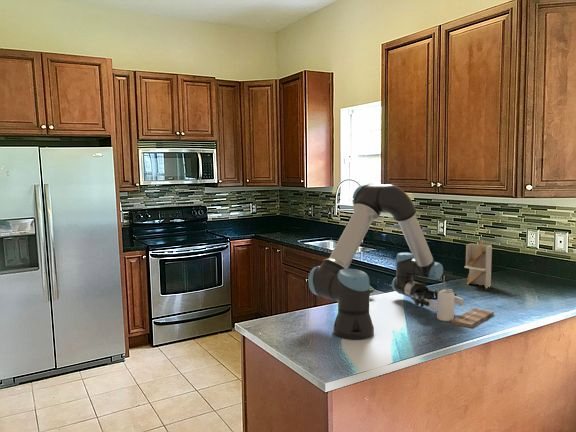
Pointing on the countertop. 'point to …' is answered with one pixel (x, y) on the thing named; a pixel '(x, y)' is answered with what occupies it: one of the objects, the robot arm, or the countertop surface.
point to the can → (445, 305)
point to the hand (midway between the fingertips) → (449, 304)
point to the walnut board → (472, 317)
